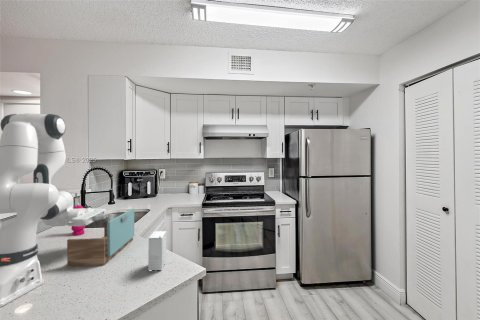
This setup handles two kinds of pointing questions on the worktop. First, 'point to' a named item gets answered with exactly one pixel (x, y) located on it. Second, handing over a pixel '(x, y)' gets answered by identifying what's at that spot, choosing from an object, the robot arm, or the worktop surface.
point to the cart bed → (89, 250)
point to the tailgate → (119, 231)
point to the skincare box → (157, 250)
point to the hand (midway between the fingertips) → (106, 216)
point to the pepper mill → (77, 229)
